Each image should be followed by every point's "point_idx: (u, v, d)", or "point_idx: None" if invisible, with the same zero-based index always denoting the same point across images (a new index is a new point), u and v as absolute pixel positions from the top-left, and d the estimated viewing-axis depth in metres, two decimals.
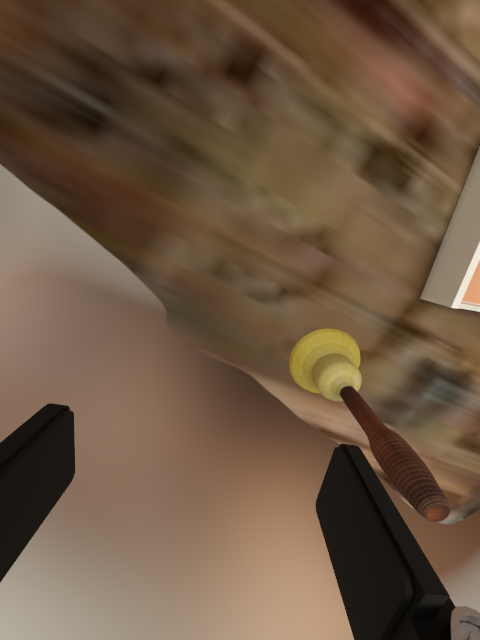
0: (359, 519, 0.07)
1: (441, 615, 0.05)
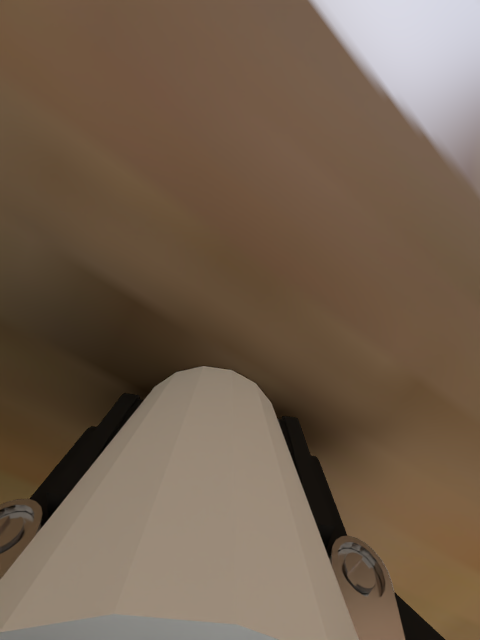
0: None
1: None
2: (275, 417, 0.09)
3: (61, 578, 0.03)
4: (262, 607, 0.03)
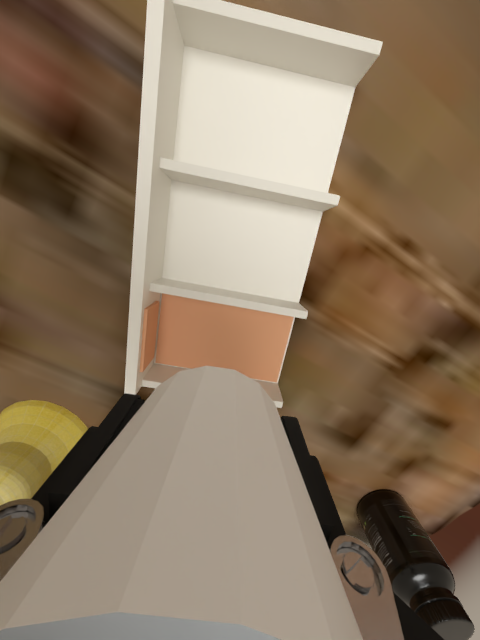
0: None
1: None
2: (278, 417, 0.09)
3: (65, 575, 0.03)
4: (266, 607, 0.03)
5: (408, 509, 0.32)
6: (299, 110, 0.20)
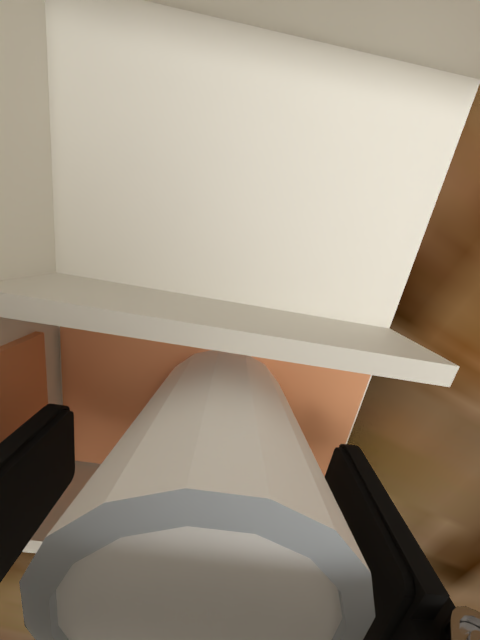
0: (359, 519, 0.07)
1: (441, 615, 0.05)
2: (283, 393, 0.10)
3: (139, 475, 0.04)
4: (285, 495, 0.04)
5: None
6: None
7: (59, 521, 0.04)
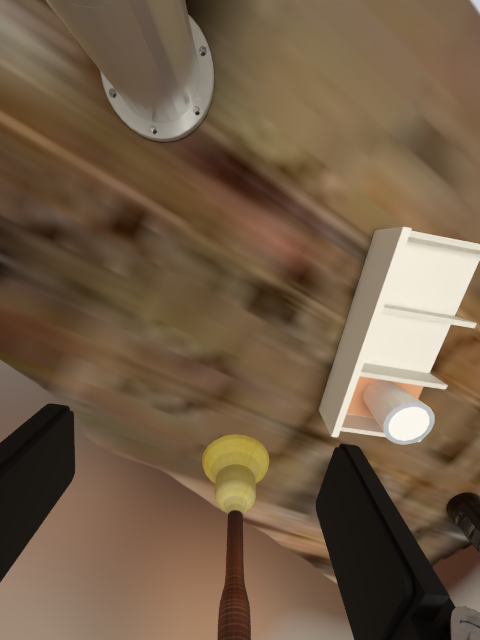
0: (359, 519, 0.07)
1: (441, 615, 0.05)
2: None
3: (404, 401, 0.32)
4: (423, 403, 0.32)
5: None
6: (446, 267, 0.34)
7: (393, 407, 0.32)
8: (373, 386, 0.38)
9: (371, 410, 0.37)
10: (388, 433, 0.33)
